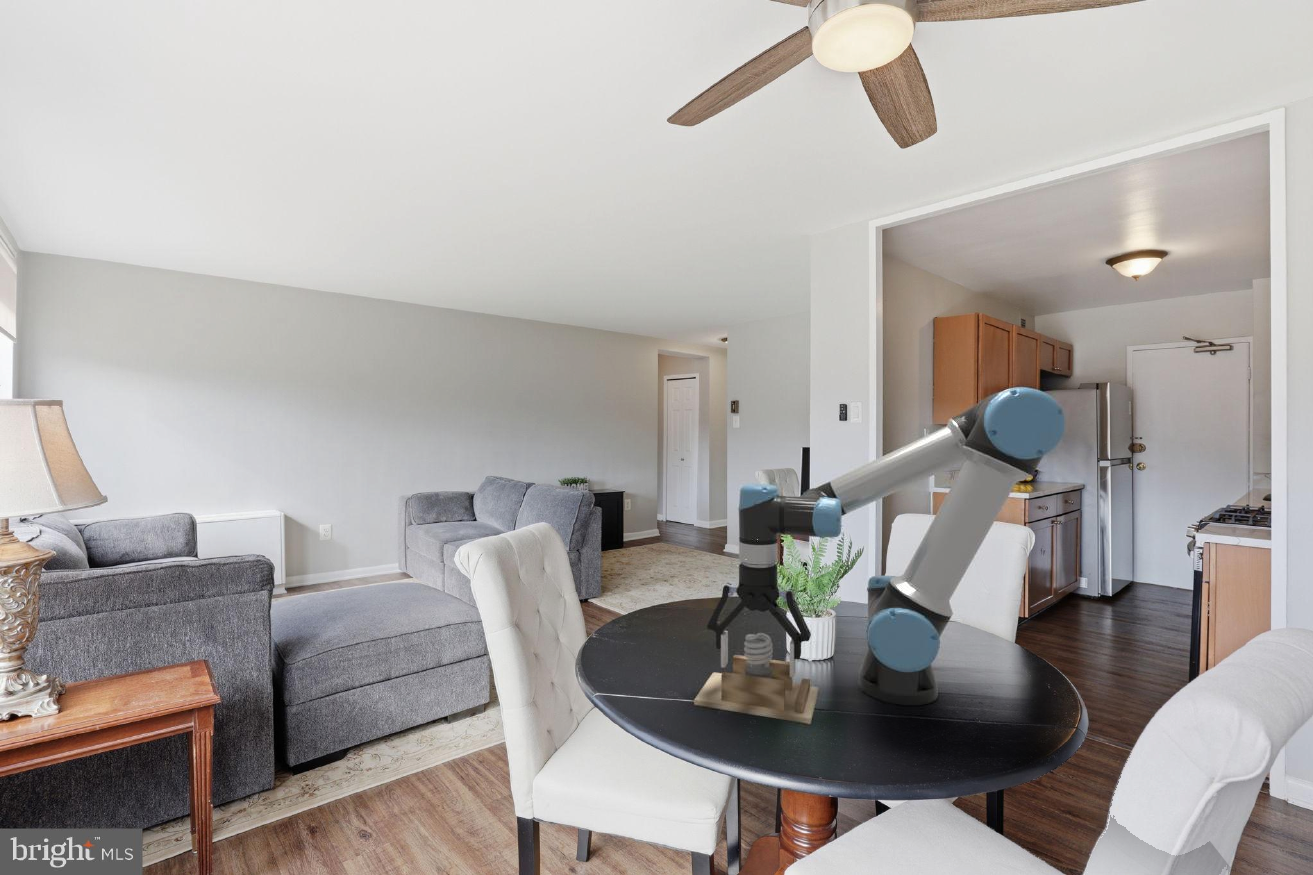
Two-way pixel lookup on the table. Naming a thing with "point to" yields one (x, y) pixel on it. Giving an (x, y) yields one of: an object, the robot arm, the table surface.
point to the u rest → (760, 692)
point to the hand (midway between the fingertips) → (757, 669)
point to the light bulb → (758, 655)
